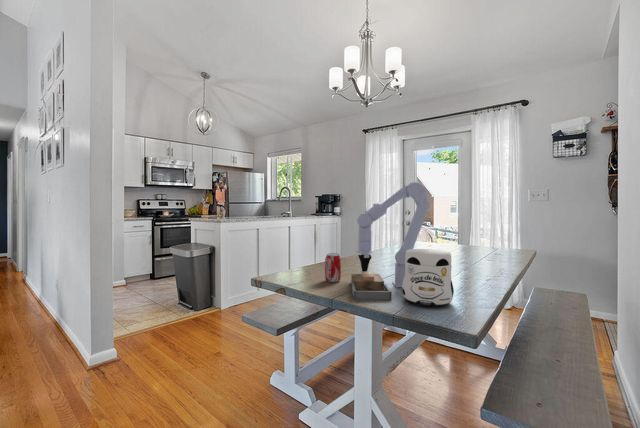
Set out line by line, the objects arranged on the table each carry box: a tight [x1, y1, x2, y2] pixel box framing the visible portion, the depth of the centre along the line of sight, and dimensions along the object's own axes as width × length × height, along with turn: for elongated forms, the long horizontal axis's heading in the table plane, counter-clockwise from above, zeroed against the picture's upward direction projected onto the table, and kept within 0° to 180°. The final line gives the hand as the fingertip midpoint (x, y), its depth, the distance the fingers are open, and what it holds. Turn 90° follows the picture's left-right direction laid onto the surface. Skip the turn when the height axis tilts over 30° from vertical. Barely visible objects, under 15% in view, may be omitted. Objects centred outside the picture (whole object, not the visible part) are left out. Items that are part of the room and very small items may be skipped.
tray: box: [351, 283, 393, 301], centre depth 123 cm, size 14×11×3 cm
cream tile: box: [359, 270, 373, 277], centre depth 137 cm, size 4×4×2 cm
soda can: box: [324, 252, 342, 283], centre depth 144 cm, size 7×7×12 cm
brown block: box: [350, 273, 385, 291], centre depth 135 cm, size 12×13×4 cm
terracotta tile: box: [362, 273, 374, 280], centre depth 132 cm, size 4×4×2 cm
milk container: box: [401, 248, 454, 308], centre depth 115 cm, size 17×17×18 cm
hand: (364, 271), depth 144 cm, fingers closed
